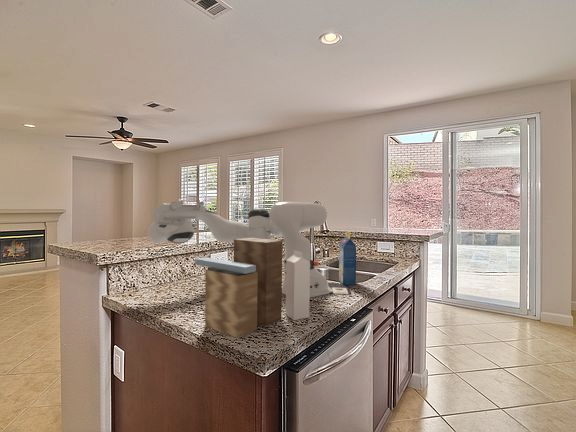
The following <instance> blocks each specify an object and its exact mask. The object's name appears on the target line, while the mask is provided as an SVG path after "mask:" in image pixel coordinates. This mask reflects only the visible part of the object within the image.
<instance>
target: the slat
mask: <svg viewBox="0 0 576 432" xmlns="http://www.w3.org/2000/svg"><path fill="white" fill-rule="evenodd" d="M194 265H195V266H200V267H206V268H216V269H222V270H227V271H233V272H238V273H244V274H247V273H251V272H255V271H256V265H252V264H246V263H239V262H234V260H233V261H232V260H225V259H219V258H212V257H207V256H205V257H199V258H194Z"/></svg>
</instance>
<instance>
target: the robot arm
mask: <svg viewBox="0 0 576 432" xmlns="http://www.w3.org/2000/svg"><path fill="white" fill-rule="evenodd" d="M196 202H197V203H187V202H184V200H183V199H178V200H177V201H173V202H171V203H161V204H159V205H157V206H156V207H155V208H154V209H153V210H152V211H151V212H150V213H151V218H152V220H153V221H152V222H151V224H150V225H149V226H148V228H147V229H146V235H147V237H148V239H149V240H150V241H151V242H152V243H153V244H161V243H164V242H167V241H168V242H171V243H174V244H184V243H187V242H188V241H190V240H191V239H192V238H193V237H194V236H195V235H194V234H195V231H194V230H195V229H194V227H193V225H194V224H193V222H192V220H198V221H202V222H203V223H204V224H205V225H206V226H207V228H208V229H209V231H210V233H211V235H212V236H213V238H214V239H215V240H216V241H218V242H219V243H225V244H226V243H228V244H232V243H233V244H234V239H242V238H260V239H271V238H272V236H274V237H282V238H283V240H284V241H283V242H284V259H283V273H284V274H283V275H284V276H283V280H282V295H284V296H286V260H287V259H289V258H290V257H291V256H293V255H294V250H295V251H299V252H302V253H303V258H305V259H306V260H308V261H310V296H309V299H310V298H315V297H320V296H323V295H328V294H330V292H333V290H332V289H331V288H330V287H329V286H328V281H327V278H326V277H325V275H323V274H322V273H321V272H319V270H317V269H316V268H315V267H318V266H319V264H320V263H319V261H317V260H312V244H311V243H312V242H311V241H310V239H309V238H307V237H306V236H304V235H302V234H301V231H305V230H308V229H312V228H316V227H321V226H323V225H324V224H325V222H326V221H327V218H328V213H327V208H326V207H325V206H324V204H321V203H320V204H319V203H316V202H311V201H307V202H306V201H305V202H304V201H303V202H302V201H282V202H276V203H274V204H273V205H272V206H271V207H270V210H269V211H268V210H267V209H264V208H260V207H258V208H254V209H251V210H250V211H249V212H248V215H247V219H248V224H247V223H243V222H241V221H236V220H231V219H230V220H229V219H226V218H224V217H222V216H220V215H219V213H217V212H215V211H212V210H208V209H206V208H205V202H204V200H202V199H200V200H198V201H196ZM271 235H272V236H271ZM271 240H272V239H271Z"/></svg>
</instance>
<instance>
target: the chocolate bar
mask: <svg viewBox="0 0 576 432" xmlns="http://www.w3.org/2000/svg"><path fill="white" fill-rule="evenodd" d="M339 283H340V284H339ZM327 286H328V287H330V288H331V289H332V290H333V292H330V293H329V294H330V295H339V294H352V291H351V290H350V288H349V287H350V286H348V285H343V284H342V283H341V282H327Z"/></svg>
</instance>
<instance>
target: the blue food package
mask: <svg viewBox="0 0 576 432" xmlns="http://www.w3.org/2000/svg"><path fill="white" fill-rule="evenodd" d="M338 251H339V253H338V256H339V258H338V260H339V261H338V280H339V283H342V284H343V285H356V283H357V282H356V280H357V279H356V278H357V277H356V276H357V247H356V244H355V242H354V241H353V240H352V239H351V232H349V231H345V236H344V237H343V238H342V240H341V241H340V243H339V250H338Z"/></svg>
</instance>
